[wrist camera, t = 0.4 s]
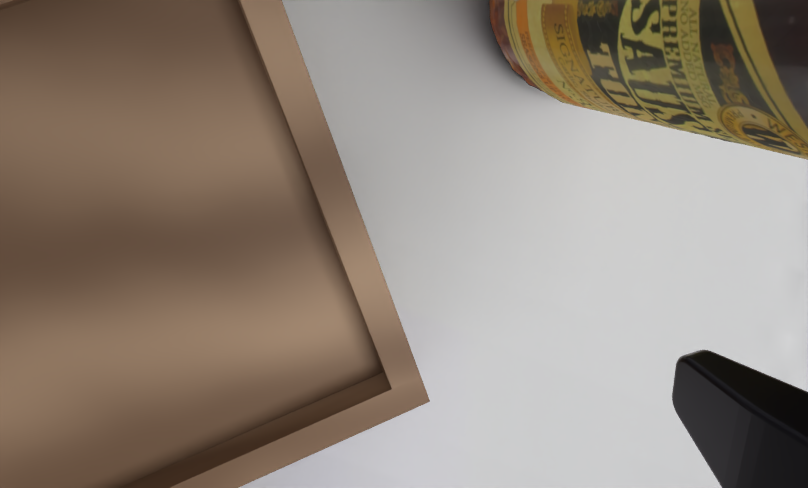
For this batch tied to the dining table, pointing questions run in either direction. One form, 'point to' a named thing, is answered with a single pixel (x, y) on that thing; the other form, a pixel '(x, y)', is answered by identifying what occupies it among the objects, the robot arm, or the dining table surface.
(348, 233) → the walnut tray
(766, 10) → the sauce bottle
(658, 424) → the dining table surface
